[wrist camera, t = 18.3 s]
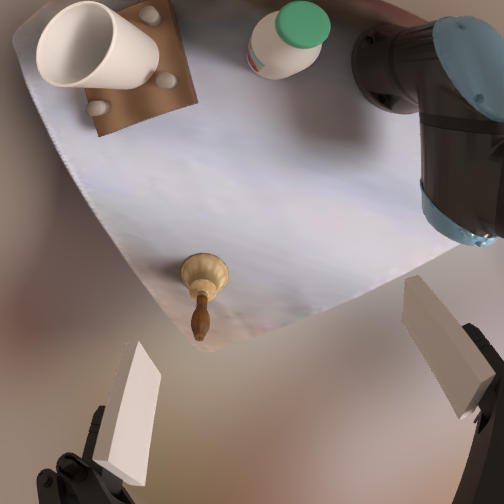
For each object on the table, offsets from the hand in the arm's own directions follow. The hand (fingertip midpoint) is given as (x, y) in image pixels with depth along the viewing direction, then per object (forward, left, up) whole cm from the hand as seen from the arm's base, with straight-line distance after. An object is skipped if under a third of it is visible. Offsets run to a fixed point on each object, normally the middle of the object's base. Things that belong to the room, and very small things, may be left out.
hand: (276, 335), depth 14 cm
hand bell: (+11, +16, -35) cm, 40 cm away
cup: (+11, -20, -30) cm, 38 cm away
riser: (+11, -20, -35) cm, 42 cm away
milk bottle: (-8, -16, -35) cm, 39 cm away
